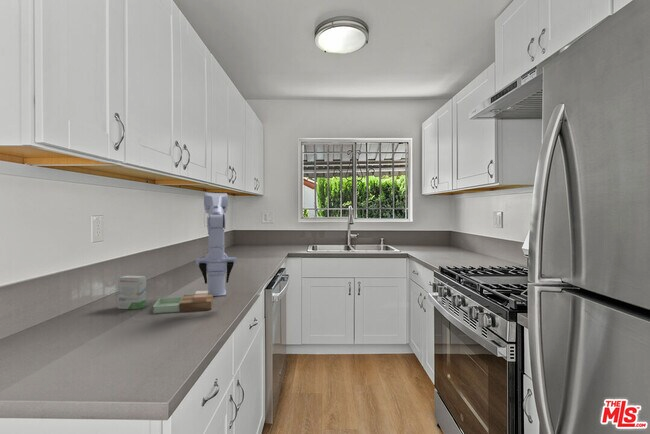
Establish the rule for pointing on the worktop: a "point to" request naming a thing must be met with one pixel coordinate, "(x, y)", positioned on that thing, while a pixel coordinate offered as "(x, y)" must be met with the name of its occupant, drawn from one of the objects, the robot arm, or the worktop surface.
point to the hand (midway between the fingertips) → (216, 282)
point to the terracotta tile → (200, 297)
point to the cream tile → (201, 292)
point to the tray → (167, 305)
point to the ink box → (131, 292)
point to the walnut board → (195, 303)
